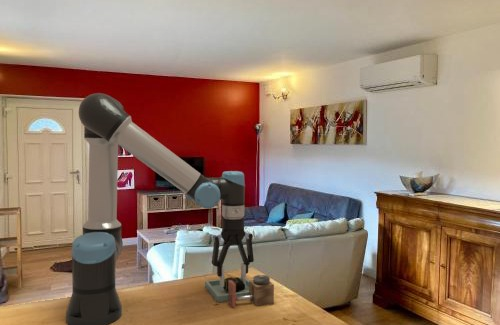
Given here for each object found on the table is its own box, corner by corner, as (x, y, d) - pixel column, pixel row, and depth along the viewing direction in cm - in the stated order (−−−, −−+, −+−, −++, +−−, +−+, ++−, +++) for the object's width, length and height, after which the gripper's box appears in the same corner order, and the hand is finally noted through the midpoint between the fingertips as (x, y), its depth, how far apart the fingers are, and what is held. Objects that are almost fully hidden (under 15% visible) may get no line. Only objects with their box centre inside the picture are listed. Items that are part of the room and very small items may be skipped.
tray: (217, 303, 132) (217, 296, 132) (204, 287, 146) (204, 281, 146) (261, 297, 138) (261, 290, 137) (244, 282, 151) (244, 276, 151)
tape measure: (245, 293, 139) (245, 282, 139) (225, 295, 137) (226, 284, 137) (239, 286, 146) (239, 275, 145) (220, 288, 143) (220, 277, 143)
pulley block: (256, 306, 130) (256, 279, 129) (249, 299, 135) (249, 274, 135) (273, 303, 132) (274, 277, 132) (265, 297, 138) (266, 272, 137)
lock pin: (232, 306, 128) (232, 284, 128) (228, 302, 132) (228, 280, 131) (272, 301, 133) (272, 279, 133) (267, 296, 137) (267, 275, 136)
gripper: (207, 221, 133) (207, 291, 134) (264, 217, 140) (263, 284, 142) (201, 217, 140) (201, 284, 141) (256, 213, 147) (255, 277, 149)
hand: (232, 284), depth 142 cm, fingers closed on tape measure, 7 cm apart
